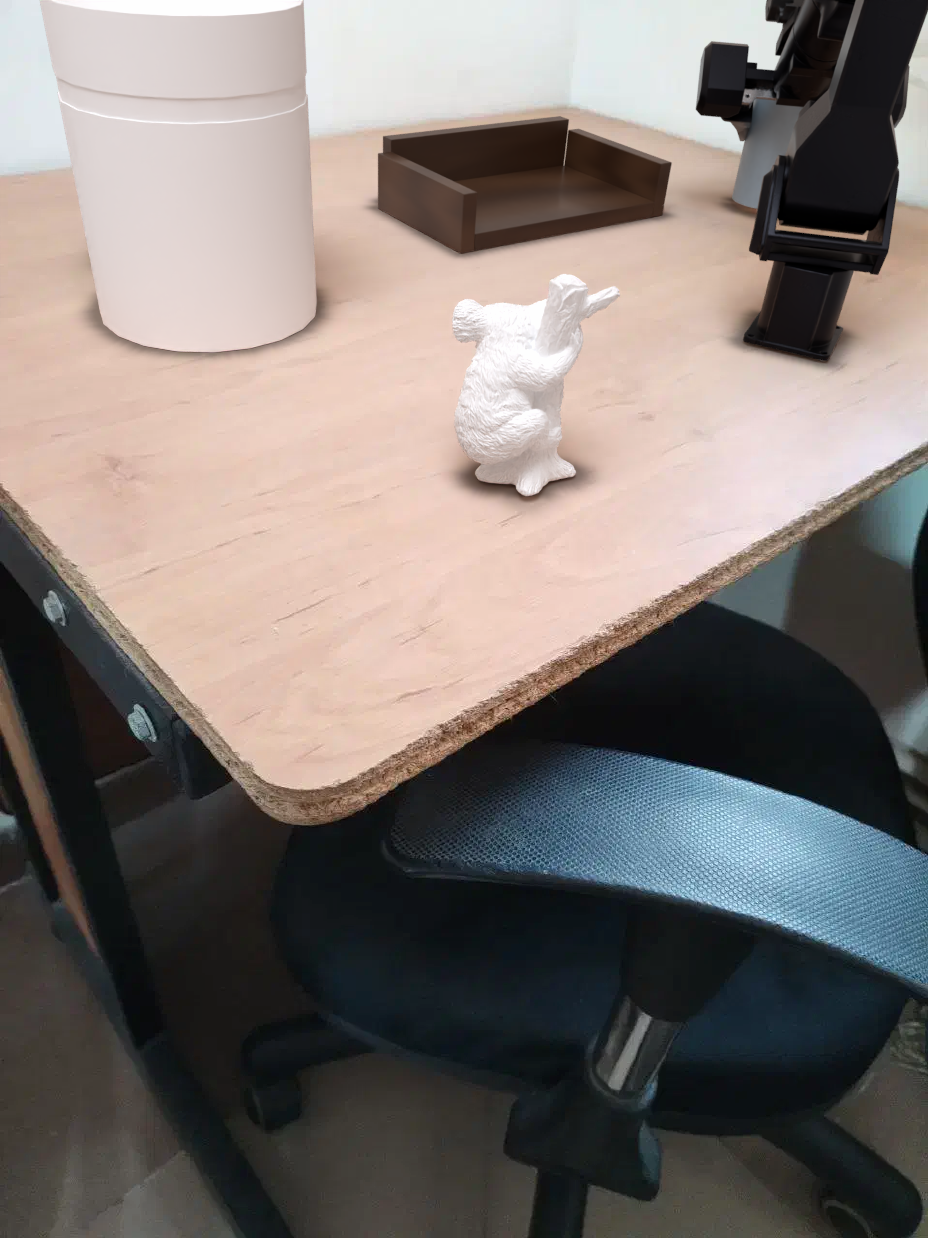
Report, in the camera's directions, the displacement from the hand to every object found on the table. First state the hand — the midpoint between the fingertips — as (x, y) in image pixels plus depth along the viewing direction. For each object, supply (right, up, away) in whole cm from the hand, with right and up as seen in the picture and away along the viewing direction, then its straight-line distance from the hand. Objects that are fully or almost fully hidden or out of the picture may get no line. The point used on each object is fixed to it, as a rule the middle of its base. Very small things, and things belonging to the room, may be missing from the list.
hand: (775, 139), depth 97 cm
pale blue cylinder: (0, -5, +3) cm, 6 cm away
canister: (-51, -25, -25) cm, 62 cm away
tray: (-26, -9, -3) cm, 27 cm away
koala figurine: (-29, -41, -41) cm, 65 cm away
